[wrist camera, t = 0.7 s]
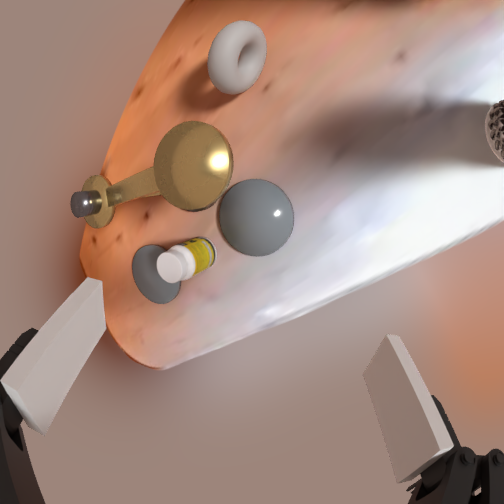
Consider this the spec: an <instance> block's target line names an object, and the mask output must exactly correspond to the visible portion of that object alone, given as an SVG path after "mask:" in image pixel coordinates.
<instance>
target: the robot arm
mask: <svg viewBox="0 0 504 504" xmlns="http://www.w3.org/2000/svg"><path fill="white" fill-rule="evenodd" d="M105 330H106V323H105V313H104V302H103V287H102V281H100V280H97V279H93V278H89V277H87V278H86V280H85V281H84V282H83V283H82V284H81V285H80V286H79V287H78V288H77V289H76V290H75V291H74V292H73V293H72V294H71V295H70V296H69V298H68V299H67V300H66V301H65V302H64V303H63V304H62V305H61V306H60V307H59V308H58V310H57V311H56V312H55V313H54V314H53V315H52V316H51V318H50V319H49V320H48V321H47V322H46V323H45V324H44V326H43V327H42V328H41V329H40V330H39V331H38V330H36V329H34V328H31V329H29V330H28V331H26V332H25V333H22V334H21V336H20V337H19V338H18V339H17V340H16V341H15V344H13V345H12V346H11V347H10V349H9V351H7V352H6V353H5V355H4V356H3V357H2V358H1V360H0V504H45V502H44V499H43V496H42V494H41V491H40V489H39V486H38V483H37V480H36V477H35V474H34V471H33V468H32V465H31V462H30V458H29V454H28V451H27V447H26V443H25V440H24V435H23V431H22V428H21V425H20V424H21V422H22V420H23V419H24V421H25V422H26V424H27V425H28V427H30V428H31V429H33V430H35V431H37V432H39V433H40V434H42V435H44V436H45V434H46V432H47V430H48V428H49V426H50V424H51V422H52V420H53V418H54V417H55V415H56V413H57V411H58V409H59V407H60V405H61V403H62V401H63V400H64V398H65V396H66V394H67V393H68V391H69V389H70V387H71V386H72V384H73V382H74V380H75V379H76V377H77V375H78V373H79V372H80V370H81V368H82V367H83V365H84V363H85V362H86V360H87V358H88V357H89V355H90V353H91V352H92V350H93V349H94V347H95V345H96V344H97V342H98V341H99V339H100V337H101V336H102V334H103V333H104V331H105ZM363 377H364V379H365V382H366V385H367V388H368V391H369V394H370V396H371V400H372V403H373V406H374V408H375V412H376V415H377V418H378V421H379V424H380V427H381V430H382V433H383V436H384V440H385V443H386V446H387V450H388V453H389V457H390V460H391V464H392V467H393V471H394V474H395V478H396V482H397V483H402V482H406V481H410V480H412V479H414V478H415V477H416V476H418V475H419V474H421V477H422V478H421V479H420V480H418V481H417V482H416V483H414V484H413V485H411V486H410V487H408V489H407V490H406V491H410V490H411V489H413V488H414V487H415V489H414V490H413V491H412V492H411V493H412V496H411V498H410V500H409V503H408V504H504V454H503V452H502V451H500V450H499V449H493V450H491V451H490V452H489V453H488V454H487V455H485V456H481V455H476V454H475V453H474V452H473V450H471V449H470V448H468V447H461V446H460V443H459V441H458V439H457V436H456V434H455V432H454V430H453V428H452V425H451V423H450V421H448V417H447V415H446V414H445V411H444V409H443V407H442V405H441V403H440V402H439V401H438V400H437V398H436V397H434V395H430V393H429V391H428V389H427V387H426V385H425V383H424V381H423V379H422V377H421V375H420V374H419V372H418V370H417V368H416V366H415V364H414V362H413V360H412V359H411V357H410V355H409V353H408V351H407V350H406V348H405V346H404V344H403V342H402V341H401V339H400V337H399V336H398V335H388V334H387V335H386V336H385V338H384V339H383V341H382V343H381V345H380V347H379V348H378V350H377V352H376V354H375V355H374V357H373V358H372V360H371V362H370V363H369V365H368V366H367V368H366V370H365V371H364V373H363ZM480 487H481V493H479V494H478V495H476V496H475V494H474V491H476V490H477V489H479V488H480Z"/></svg>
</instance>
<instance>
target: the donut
mask: <svg viewBox="0 0 504 504" xmlns="http://www.w3.org/2000/svg"><path fill="white" fill-rule="evenodd" d="M266 54H267V43H266V38H265V36H264V34H263V32H262V30H261V28H259V27H258V26H257V25H255V24H254V23H252V22H250V21H236V22H233V23H231V24H228V25H226V26H225V27H224V28H223V29H222V30H221V31H220V32H219V33H218V34H217V36H216V37H215V39H214V40H213V42H212V45H211V48H210V50H209V54H208V63H207V65H208V73H209V76H210V79H211V81H212V83H213V85H214V86H215V87H216V88H217V89H218V90H220V91H221V92H223V93H226V94H232V95H235V94H239V93H242V92H245V91H246V90H247V89H249V88H250V87H251V86H253V84H254V83H255V82H256V80H257V79H258V77H259V75H260V74H261V72H262V69H263V66H264V64H265V59H266ZM239 55H240V58H239ZM238 58H239V61H238Z"/></svg>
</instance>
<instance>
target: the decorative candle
mask: <svg viewBox="0 0 504 504" xmlns="http://www.w3.org/2000/svg"><path fill="white" fill-rule="evenodd" d="M485 132H486V138H487V141H488V143H489V145H490V147H491V150H492V152H493V153H494V154H495V155H496V156H497V158H498V159H499V160H500V161H501V162H503V163H504V100H501V101H499V103H496V104H495V105H494V106H492V107H491V108H490V110H489V111H488V113H487V114H486V120H485Z"/></svg>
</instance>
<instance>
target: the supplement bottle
mask: <svg viewBox="0 0 504 504" xmlns="http://www.w3.org/2000/svg"><path fill="white" fill-rule="evenodd" d="M216 258H217V251H216V248H215V246H214V244H213V243H212V242H211V241H210V240H209V239H208V238H205V237H197V238H194V239H191V240H188V241H185V242H183V243H180V244H177V245H174V246H172V247H171V248H170V249H169V250H168V251H166V252H164V253H162V254H161V255H160V256H159V257H158V259H157V270H158V273H159V275H160V276H161V277H162V279H164V280H165V281H166V282H168V283H176V282H178V281H180V280H187V279H189V278H191V277H193V276H195V275H197V274H198V273H200V272H202V271H204V270H206V269H208V268H209V267H211V266H212V265H213V264H214V263H215V261H216Z"/></svg>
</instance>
